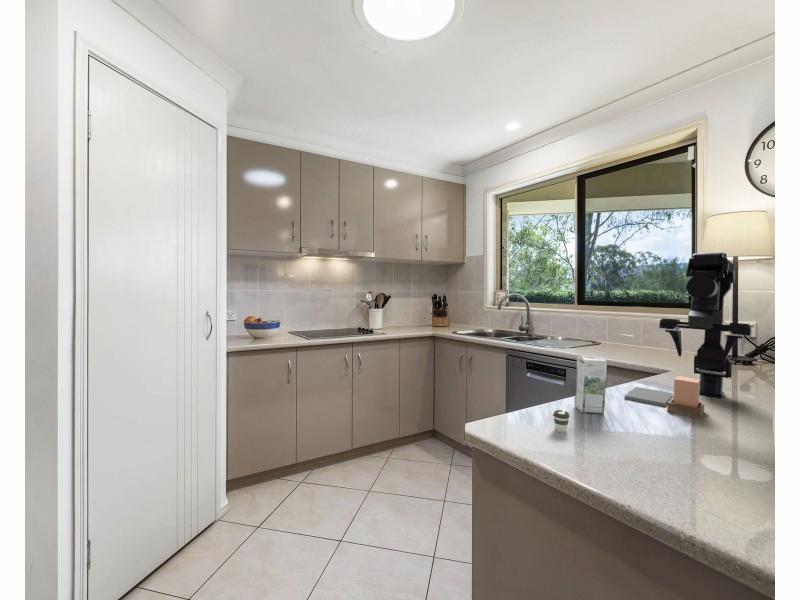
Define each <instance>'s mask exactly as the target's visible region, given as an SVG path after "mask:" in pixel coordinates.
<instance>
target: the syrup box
mask: <svg viewBox="0 0 800 600" xmlns="http://www.w3.org/2000/svg"><path fill="white" fill-rule="evenodd" d="M607 366H608V362H607V360H606V359H604V358H603V357H601V356H591V355H590V356H587V355H585V356H583V355H577V357H576V371H575V373H576V375H575V376H576V377H575V395H574V396H575V397H574V406H575V407H576V408H577V410H579V412H581V414H582V413H585V414H600V415H604V414H605V406H606V405H605V404H606V403H605V402H606V387H607V386H606V384H607V369H608V367H607Z"/></svg>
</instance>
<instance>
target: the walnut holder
mask: <svg viewBox="0 0 800 600" xmlns="http://www.w3.org/2000/svg"><path fill="white" fill-rule="evenodd" d="M673 400H674V396H673V397H672V398H671V399H670V401H669V402H668V403H667V408H666V411H667V413H672V414H677V415H681V416H686V417H691V418H696V419H701V418H702V417H703V415H704V413H705V402H701V401H699V408H696V407H690V406H685V405H680V404H675V403H673Z"/></svg>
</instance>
